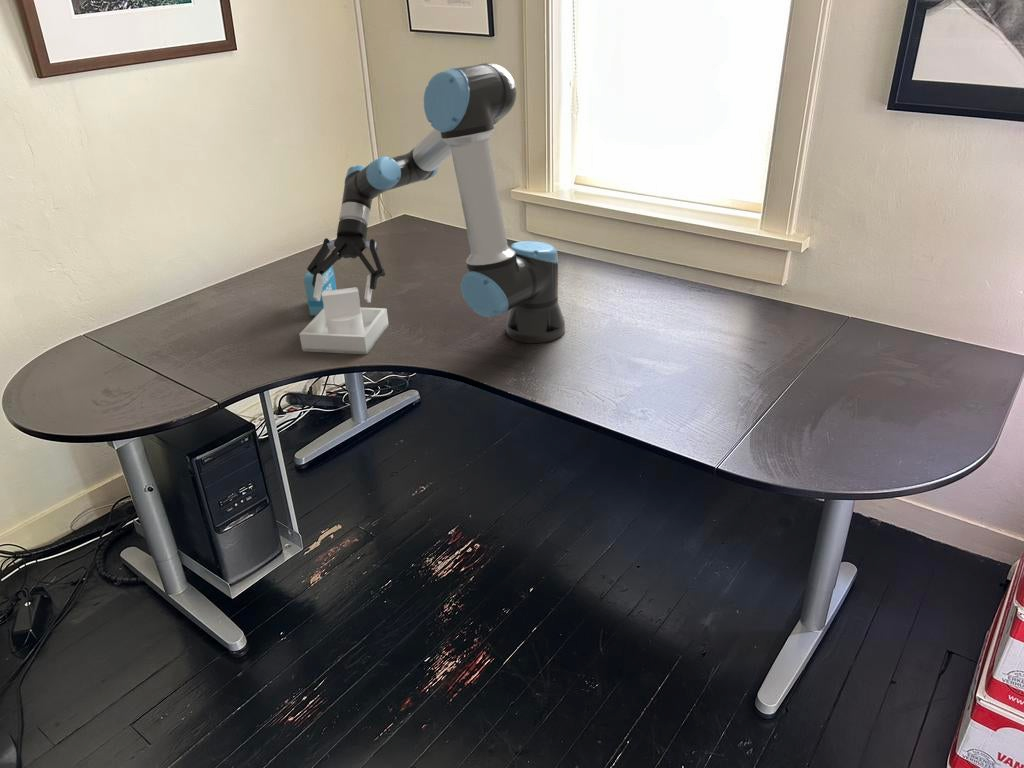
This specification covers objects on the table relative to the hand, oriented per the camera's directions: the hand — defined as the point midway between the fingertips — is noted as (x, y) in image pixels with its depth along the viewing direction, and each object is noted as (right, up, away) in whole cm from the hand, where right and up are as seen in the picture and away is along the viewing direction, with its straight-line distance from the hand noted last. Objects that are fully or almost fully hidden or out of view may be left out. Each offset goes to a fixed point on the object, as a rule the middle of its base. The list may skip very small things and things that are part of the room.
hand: (341, 300), depth 189 cm
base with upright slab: (+1, -9, +3) cm, 9 cm away
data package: (-9, 0, +20) cm, 22 cm away
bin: (+1, -9, +4) cm, 10 cm away
